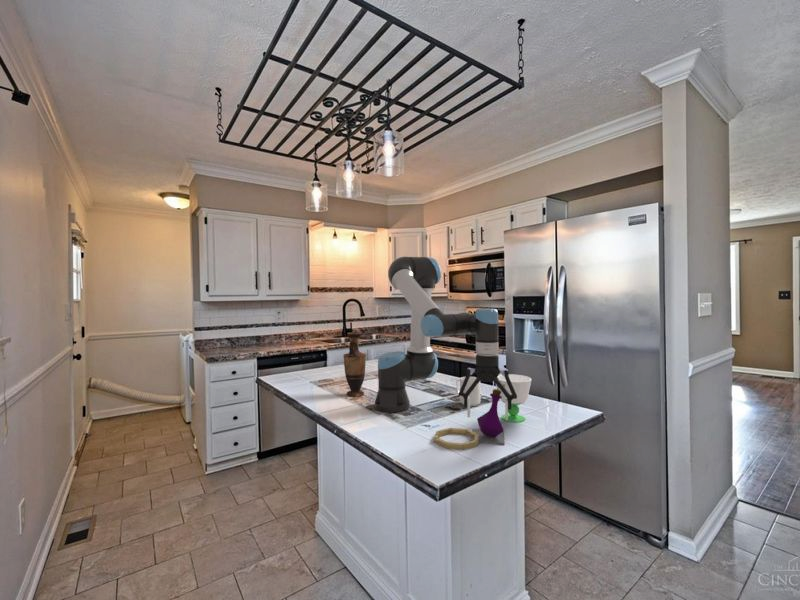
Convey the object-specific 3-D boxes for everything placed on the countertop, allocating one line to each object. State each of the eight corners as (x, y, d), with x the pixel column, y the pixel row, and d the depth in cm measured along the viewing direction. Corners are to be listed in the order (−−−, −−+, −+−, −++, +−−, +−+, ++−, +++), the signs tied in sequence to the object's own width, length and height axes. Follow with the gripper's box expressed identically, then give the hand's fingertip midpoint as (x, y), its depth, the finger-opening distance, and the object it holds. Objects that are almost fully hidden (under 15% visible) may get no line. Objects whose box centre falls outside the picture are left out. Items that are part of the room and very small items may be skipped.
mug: (484, 404, 173) (484, 378, 173) (471, 408, 167) (471, 382, 167) (463, 398, 182) (463, 374, 182) (450, 402, 176) (450, 377, 176)
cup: (488, 419, 153) (488, 378, 152) (504, 410, 163) (504, 372, 163) (523, 427, 144) (522, 383, 143) (537, 417, 154) (537, 377, 154)
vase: (350, 391, 198) (349, 331, 197) (370, 392, 194) (369, 332, 193) (340, 396, 188) (338, 333, 187) (360, 398, 184) (359, 334, 183)
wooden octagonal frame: (431, 446, 127) (431, 442, 127) (438, 431, 141) (438, 426, 141) (477, 450, 123) (477, 446, 123) (479, 434, 137) (479, 430, 137)
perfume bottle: (474, 427, 138) (487, 377, 138) (495, 432, 138) (507, 382, 138) (480, 435, 130) (493, 382, 130) (501, 440, 131) (515, 387, 131)
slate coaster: (470, 442, 130) (470, 440, 130) (472, 430, 141) (472, 428, 141) (504, 444, 128) (504, 443, 128) (504, 432, 138) (504, 431, 138)
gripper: (450, 354, 133) (450, 418, 134) (525, 357, 127) (525, 423, 128) (452, 351, 140) (453, 411, 141) (523, 353, 134) (524, 416, 135)
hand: (487, 417), depth 134 cm, fingers open, 12 cm apart
